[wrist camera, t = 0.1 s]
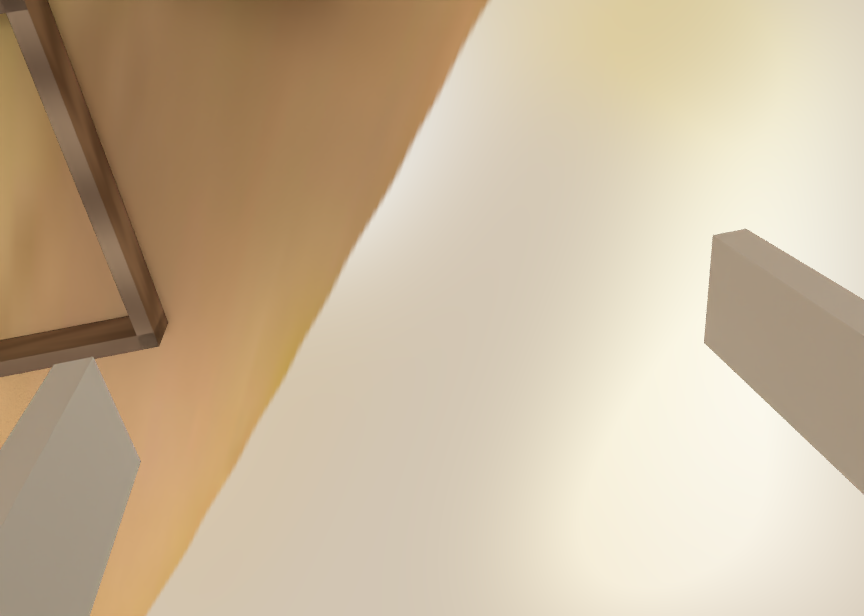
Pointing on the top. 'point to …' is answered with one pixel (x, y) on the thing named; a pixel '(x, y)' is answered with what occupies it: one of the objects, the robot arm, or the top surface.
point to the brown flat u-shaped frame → (100, 200)
